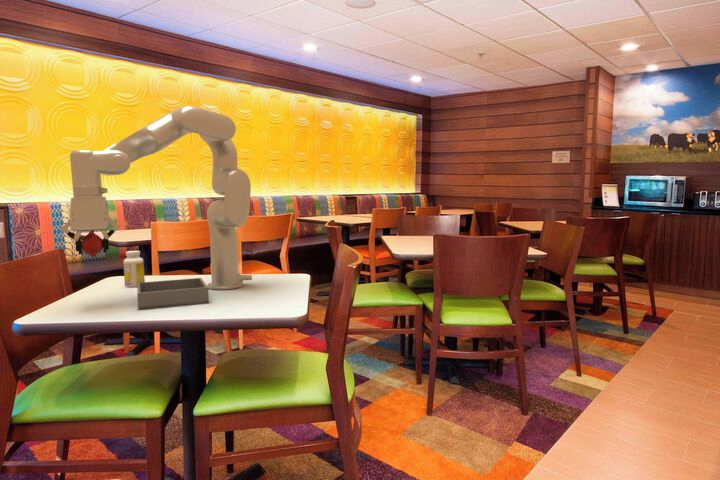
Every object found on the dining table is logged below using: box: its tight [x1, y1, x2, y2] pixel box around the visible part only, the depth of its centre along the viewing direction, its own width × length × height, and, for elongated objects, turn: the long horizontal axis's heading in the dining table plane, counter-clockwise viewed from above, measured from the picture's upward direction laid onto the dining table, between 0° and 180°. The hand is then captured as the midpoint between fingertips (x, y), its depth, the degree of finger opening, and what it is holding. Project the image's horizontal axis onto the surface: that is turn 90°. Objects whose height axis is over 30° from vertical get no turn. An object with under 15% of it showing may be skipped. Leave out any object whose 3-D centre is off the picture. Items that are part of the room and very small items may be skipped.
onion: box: [81, 231, 104, 258], centre depth 144 cm, size 6×6×8 cm
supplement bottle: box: [123, 250, 146, 288], centre depth 177 cm, size 7×7×13 cm
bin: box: [136, 277, 210, 311], centre depth 154 cm, size 20×18×5 cm
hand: (93, 252), depth 145 cm, fingers closed on onion, 5 cm apart
